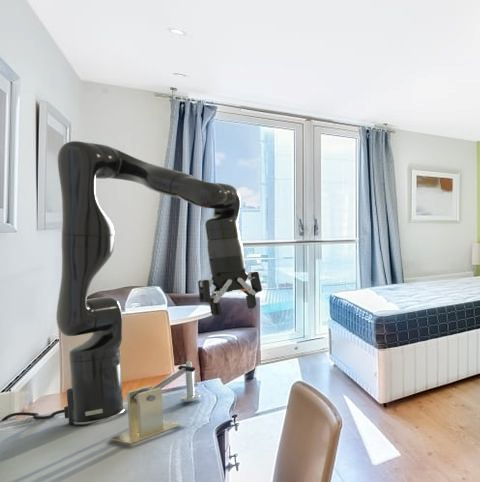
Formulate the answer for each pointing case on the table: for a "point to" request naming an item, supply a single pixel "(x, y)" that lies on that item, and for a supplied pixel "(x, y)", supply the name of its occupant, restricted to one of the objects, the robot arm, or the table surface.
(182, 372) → the lever
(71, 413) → the robot arm
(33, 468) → the table surface
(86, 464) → the table surface
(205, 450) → the table surface
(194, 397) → the screw
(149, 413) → the bracket
